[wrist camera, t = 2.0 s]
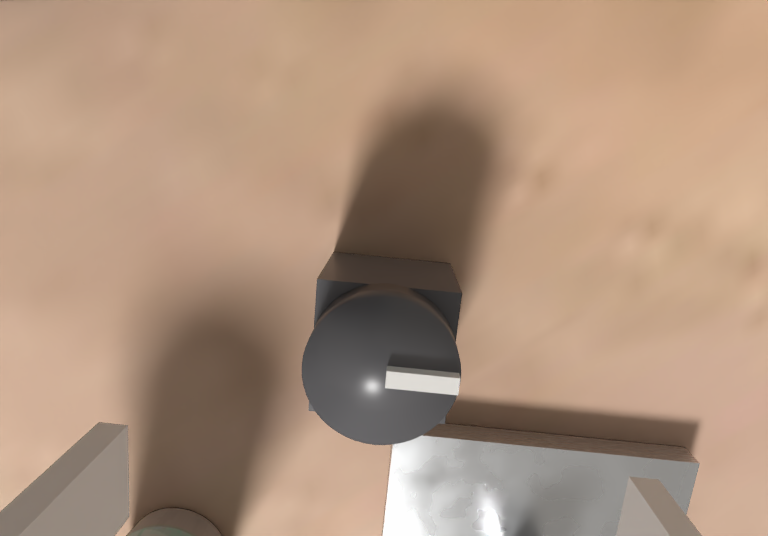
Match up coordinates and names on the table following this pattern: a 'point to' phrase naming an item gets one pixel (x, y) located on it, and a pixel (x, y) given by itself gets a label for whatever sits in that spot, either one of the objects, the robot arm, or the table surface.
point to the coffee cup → (174, 524)
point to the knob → (383, 347)
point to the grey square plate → (521, 482)
